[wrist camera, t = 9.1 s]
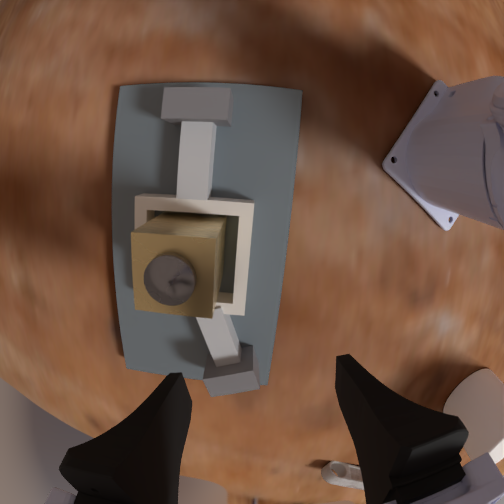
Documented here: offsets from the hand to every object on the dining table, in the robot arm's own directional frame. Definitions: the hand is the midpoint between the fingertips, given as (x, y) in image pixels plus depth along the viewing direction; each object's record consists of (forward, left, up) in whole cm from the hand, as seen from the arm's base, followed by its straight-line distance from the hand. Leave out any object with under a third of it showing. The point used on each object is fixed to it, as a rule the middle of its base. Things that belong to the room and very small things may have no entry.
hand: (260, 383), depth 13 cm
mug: (-3, +32, -10) cm, 34 cm away
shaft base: (-1, -6, -9) cm, 11 cm away
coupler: (-1, -6, -8) cm, 10 cm away
